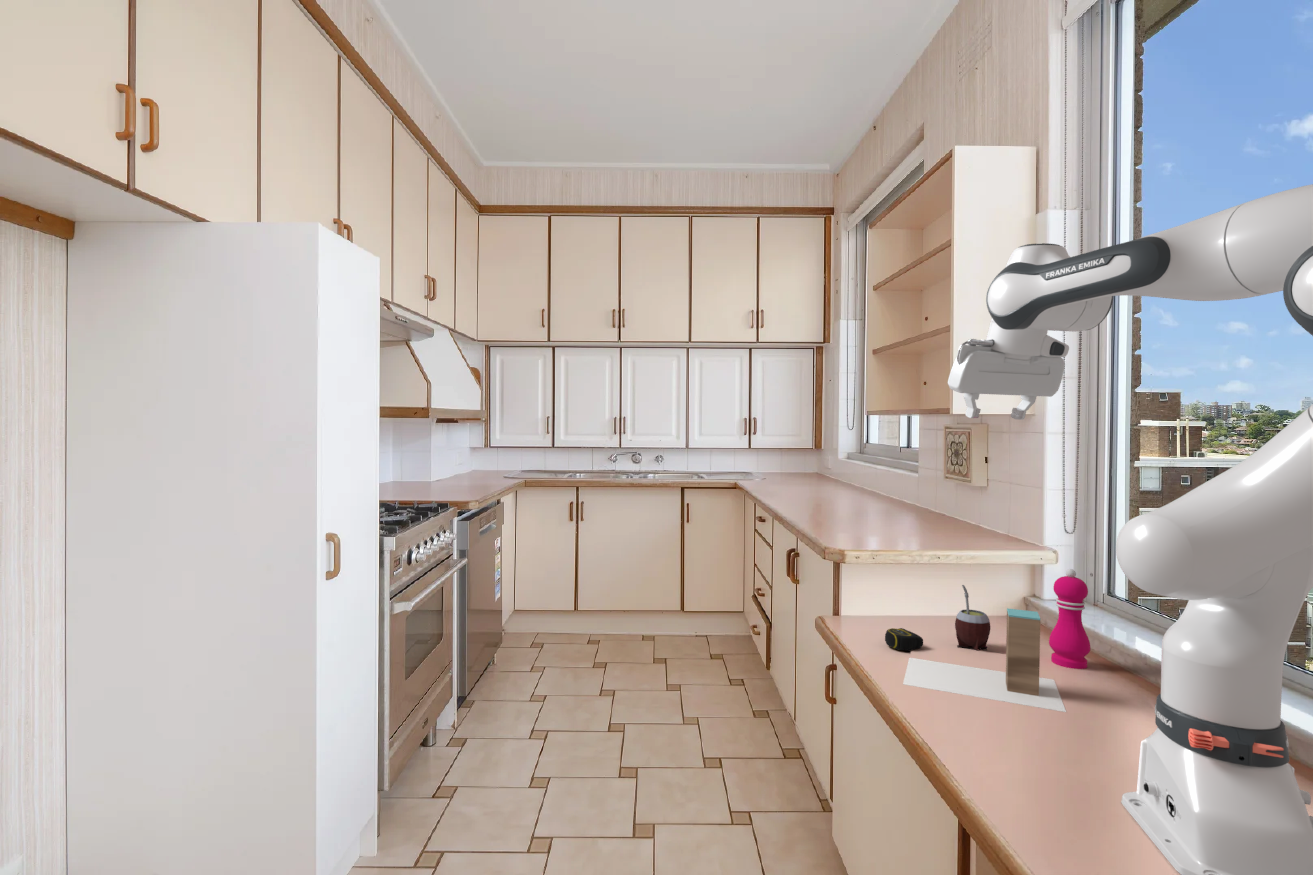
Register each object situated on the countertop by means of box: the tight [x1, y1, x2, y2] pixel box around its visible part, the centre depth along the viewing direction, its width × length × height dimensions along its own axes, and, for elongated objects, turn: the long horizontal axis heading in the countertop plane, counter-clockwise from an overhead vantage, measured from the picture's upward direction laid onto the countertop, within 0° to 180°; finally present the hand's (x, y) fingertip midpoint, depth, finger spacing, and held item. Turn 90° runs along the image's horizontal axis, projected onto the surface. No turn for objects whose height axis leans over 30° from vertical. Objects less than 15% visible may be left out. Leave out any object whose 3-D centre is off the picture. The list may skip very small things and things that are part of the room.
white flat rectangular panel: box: [902, 657, 1067, 713], centre depth 122 cm, size 16×26×1 cm, turn 65°
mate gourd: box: [954, 584, 991, 652], centre depth 142 cm, size 8×8×15 cm
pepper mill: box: [1048, 568, 1091, 670], centre depth 132 cm, size 7×7×20 cm
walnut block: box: [1005, 607, 1041, 696], centre depth 119 cm, size 5×5×14 cm
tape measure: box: [884, 627, 924, 652], centre depth 142 cm, size 7×7×4 cm
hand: (994, 418), depth 115 cm, fingers open, 8 cm apart
